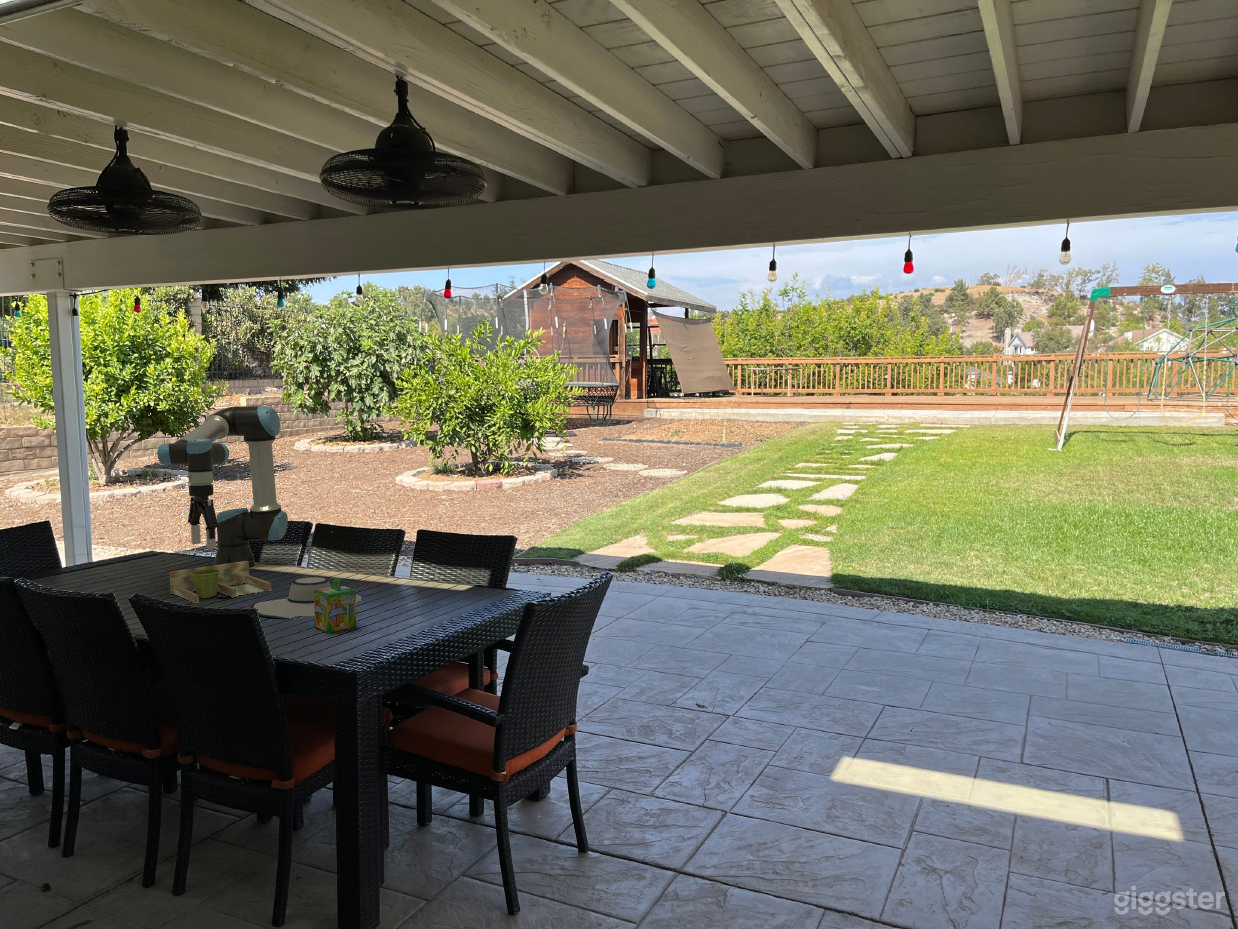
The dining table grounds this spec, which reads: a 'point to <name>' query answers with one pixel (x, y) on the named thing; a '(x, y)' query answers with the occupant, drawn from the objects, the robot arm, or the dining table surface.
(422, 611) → the dining table surface
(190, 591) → the notch rack
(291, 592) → the sun hat
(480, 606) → the dining table surface
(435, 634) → the dining table surface
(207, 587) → the plant pot
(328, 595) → the chalk box
